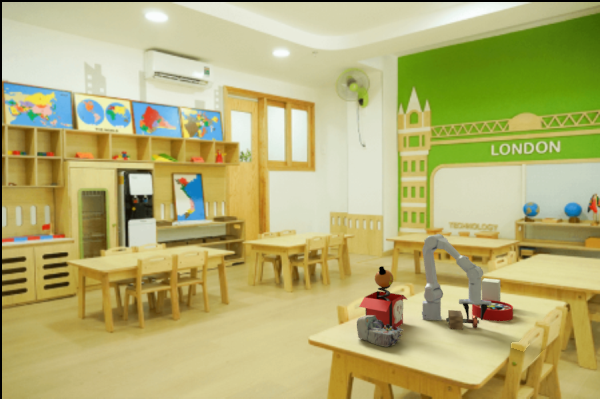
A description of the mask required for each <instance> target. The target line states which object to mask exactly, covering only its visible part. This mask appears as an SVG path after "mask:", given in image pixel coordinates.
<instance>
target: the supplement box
mask: <svg viewBox="0 0 600 399" xmlns="http://www.w3.org/2000/svg"><path fill="white" fill-rule="evenodd" d="M481 300H494V301H500V302H501V279H496V278H485V277H484V278H483V279H481Z"/></svg>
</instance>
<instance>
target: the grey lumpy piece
mask: <svg viewBox="0 0 600 399" xmlns="http://www.w3.org/2000/svg"><path fill="white" fill-rule="evenodd" d="M356 330H357V337H358V338H359V339H360V340H364V341H366V342H369V343H370V344H373V343H374V345H375V344H377V345H376V346H380V345H381V347H384V348H388V347H391V346H393V345H394V346H395V345H396V343H397V342H398V341H401V338H400V337H402V336H403V334H401V333H402V332H404V329H403V328H401V327H400V326H399V327H396V325H395V324H393V325H392V326H389V324H387V325H386V326H385V325H384V324H383V322H382V321H381V320H377V318H376V316H375V315H367V316H366V315H364V316H362V317H359V318H357V320H356Z"/></svg>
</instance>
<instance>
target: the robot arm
mask: <svg viewBox="0 0 600 399" xmlns="http://www.w3.org/2000/svg"><path fill="white" fill-rule="evenodd" d="M422 246H423V247H422V249H421V250H422V258H423V263H424V264H423V266H424V272H425V279H426V285H425V287H424V294H423V298H424V299H425V300H422V311H421V315H422V320H424V321H425V320H426V321H427V320H428V321H440V322H441V321H443V319H442V312H441V311H442V308H441V304H442V302H441V300H442V298H443V297H444V293H443V290H442V288H441V284H440V283H439V282H438V276H437V268H436V261H435V254H434V252H435V251H437V249H438V250H444V251H445V252H447V254H448V255H450V256H451V257H452V258H453V259H455V261H456V262H455V263H456V265H458V267H459V268H460V269H462V271H464V272H465V273H466V277H467V278H468V298H466V299H465V298H464V299H460V298H459V299H458V305H462V306H463V308H464V311H465V313H466V314H465V315H466V319H470V315H469V313H470V310H469V309H470V307H469V305H472V304H473V305H481V319H480V321H483V320H484V319H483V316H484V313H485V311H486V310H487V305H489V306H491V301H485V300H482V277H483V275H484V270H483V269H482V267H481V266H477V264H475V263H473V262H472V261H471V260H470V257H469V256H466V255H461V254H460V252H459V251H458V250H457V249H456V248H455V247H454V246H453V245H452V244H451V243H450V242H449V240H448V238H446V237H445V236H444V235H443V234H442V233H437V234H433V235H432V234H431V235H428V236H427V237H426V238H425V239H424V245H422Z"/></svg>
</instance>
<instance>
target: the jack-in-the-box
mask: <svg viewBox="0 0 600 399" xmlns="http://www.w3.org/2000/svg"><path fill="white" fill-rule="evenodd" d="M384 267H385V266H379V267H378V271H377V272H376V274H375V276H374V281H375V283H376V285H377V286H379V287H377V291H374V292H372V293H370V294H368V295H366V296H364V297H363V299H362V301H361V303H360V304H359V306H358V307H359V308H364V309H365V316H367V315H375V316H376V318H377V320H381V321H382V322H383V324H384V325H385V326H386V325H387V324H389V326H392V325H393V324H395V325H396V327H398V326H399V327H400V326H402V325H403V324H404V300H405V301H406V300H408V298H407V297H406V296H405V295H404V294H400V293H393V292H390V291H389V290H387V289H389V288H391V286H392V284H393V283H394V275H393V273H392V272H391V271H389V270H388V269H385V268H384ZM401 324H402V325H401Z"/></svg>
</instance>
